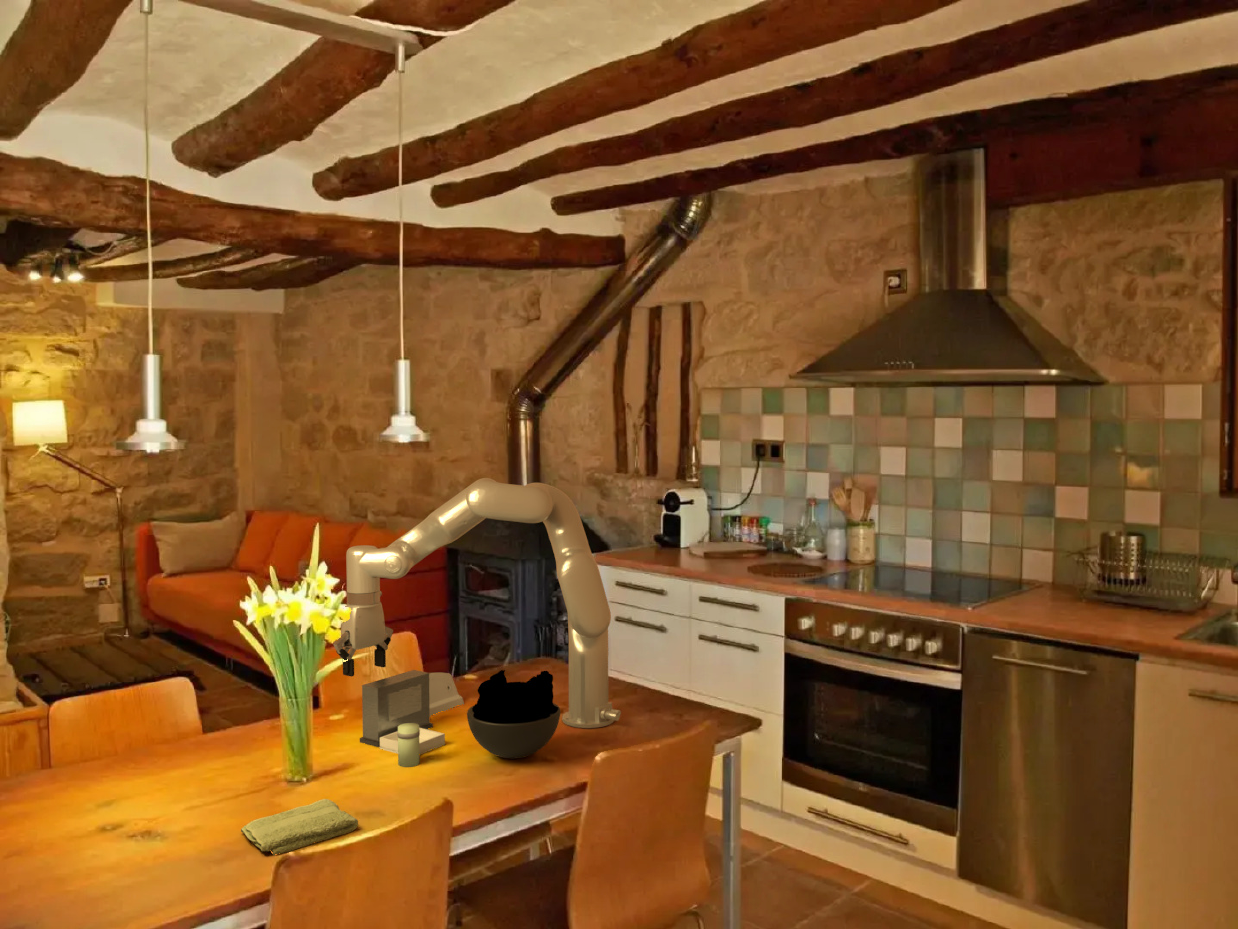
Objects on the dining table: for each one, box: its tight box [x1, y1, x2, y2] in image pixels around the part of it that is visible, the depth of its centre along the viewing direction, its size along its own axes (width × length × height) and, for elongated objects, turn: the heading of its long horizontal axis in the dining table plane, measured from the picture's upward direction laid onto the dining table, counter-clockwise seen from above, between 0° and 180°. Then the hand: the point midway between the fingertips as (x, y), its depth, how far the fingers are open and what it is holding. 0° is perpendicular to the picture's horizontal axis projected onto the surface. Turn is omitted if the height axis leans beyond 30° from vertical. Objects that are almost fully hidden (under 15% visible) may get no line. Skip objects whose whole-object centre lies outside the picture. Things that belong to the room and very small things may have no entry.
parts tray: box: [379, 728, 446, 755], centre depth 228 cm, size 10×10×2 cm
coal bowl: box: [466, 669, 561, 759], centre depth 221 cm, size 20×20×19 cm
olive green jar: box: [397, 723, 420, 768], centre depth 217 cm, size 5×5×8 cm
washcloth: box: [240, 798, 359, 856], centre depth 182 cm, size 13×18×3 cm
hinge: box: [428, 672, 465, 717], centre depth 256 cm, size 17×5×10 cm, turn 146°
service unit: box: [359, 669, 434, 748], centre depth 236 cm, size 6×17×13 cm, turn 146°
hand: (364, 671), depth 241 cm, fingers open, 9 cm apart
